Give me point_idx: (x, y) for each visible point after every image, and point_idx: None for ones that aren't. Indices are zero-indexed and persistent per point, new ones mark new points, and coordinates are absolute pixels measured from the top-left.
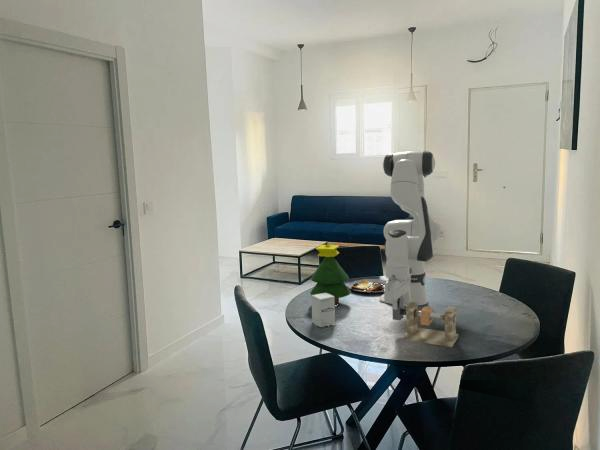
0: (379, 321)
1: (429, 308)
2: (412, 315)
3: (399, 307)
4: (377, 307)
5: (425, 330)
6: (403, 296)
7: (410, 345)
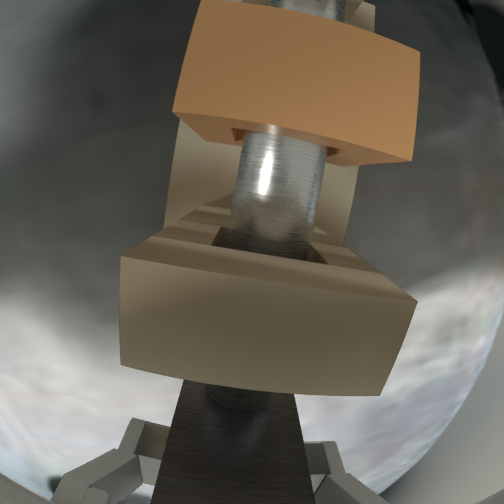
0: (116, 412)
1: (275, 29)
2: (363, 262)
3: (299, 439)
4: (3, 408)
5: (209, 148)
6: (91, 479)
7: (405, 221)
